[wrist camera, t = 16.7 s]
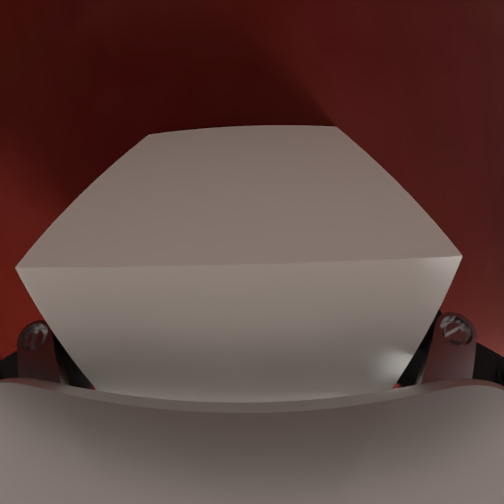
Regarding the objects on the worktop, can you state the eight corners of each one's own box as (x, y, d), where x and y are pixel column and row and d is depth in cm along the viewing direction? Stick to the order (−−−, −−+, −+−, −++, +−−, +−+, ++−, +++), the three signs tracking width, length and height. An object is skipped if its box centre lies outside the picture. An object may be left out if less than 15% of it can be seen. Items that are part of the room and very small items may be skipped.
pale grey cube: (336, 126, 11) (462, 255, 4) (321, 273, 16) (358, 433, 8) (148, 134, 11) (15, 268, 4) (176, 277, 16) (139, 434, 9)
